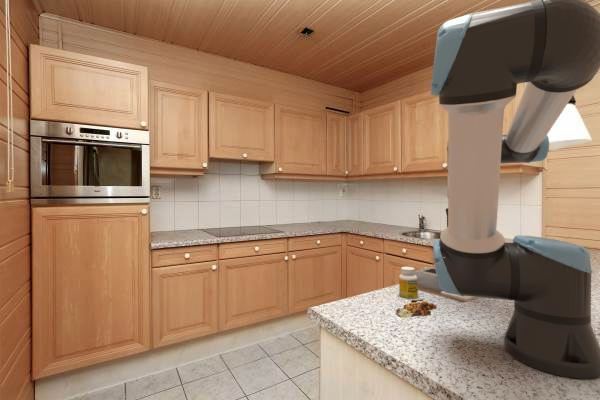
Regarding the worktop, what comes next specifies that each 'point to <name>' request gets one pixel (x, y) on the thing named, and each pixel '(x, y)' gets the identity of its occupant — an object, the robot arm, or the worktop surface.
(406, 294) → the supplement bottle
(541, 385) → the worktop surface
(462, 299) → the mat
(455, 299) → the board
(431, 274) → the eye block
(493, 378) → the worktop surface
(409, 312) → the brown mottled lumpy part
